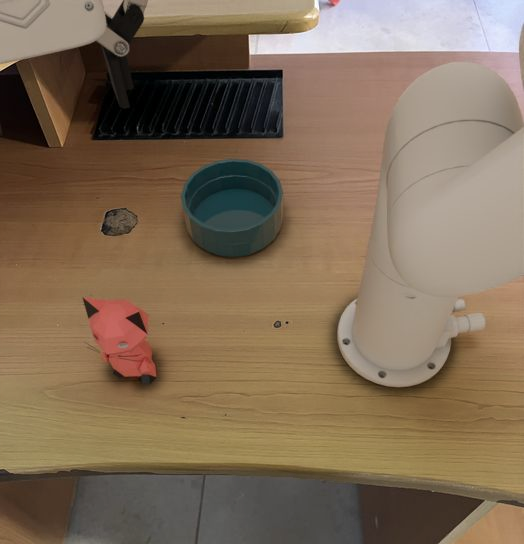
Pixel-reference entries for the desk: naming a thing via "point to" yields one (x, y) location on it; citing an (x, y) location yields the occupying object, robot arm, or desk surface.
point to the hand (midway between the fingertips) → (60, 112)
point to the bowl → (233, 207)
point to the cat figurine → (122, 337)
